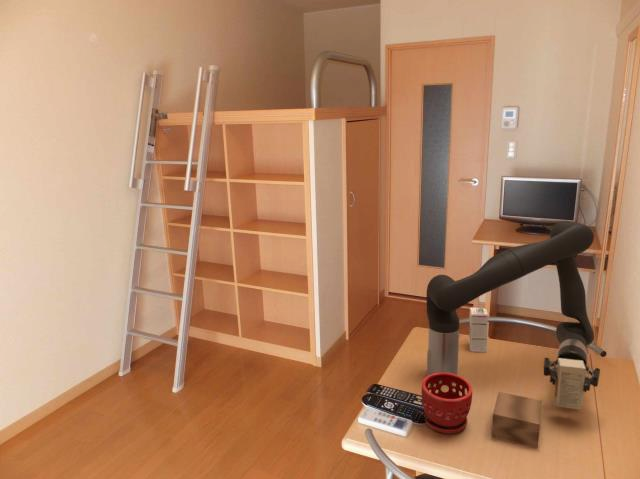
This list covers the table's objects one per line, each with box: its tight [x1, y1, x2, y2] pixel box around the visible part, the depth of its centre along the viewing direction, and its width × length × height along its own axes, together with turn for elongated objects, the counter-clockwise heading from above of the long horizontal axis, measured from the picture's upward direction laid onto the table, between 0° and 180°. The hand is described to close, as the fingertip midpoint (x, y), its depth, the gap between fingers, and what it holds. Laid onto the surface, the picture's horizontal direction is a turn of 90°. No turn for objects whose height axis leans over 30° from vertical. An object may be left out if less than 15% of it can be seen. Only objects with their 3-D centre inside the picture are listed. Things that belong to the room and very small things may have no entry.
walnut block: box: [491, 391, 543, 449], centre depth 127 cm, size 11×11×7 cm
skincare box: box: [553, 358, 586, 410], centre depth 127 cm, size 6×4×12 cm
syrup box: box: [468, 307, 489, 353], centre depth 169 cm, size 6×6×14 cm
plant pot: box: [421, 372, 473, 434], centre depth 130 cm, size 13×13×12 cm
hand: (569, 385), depth 125 cm, fingers closed on skincare box, 6 cm apart
